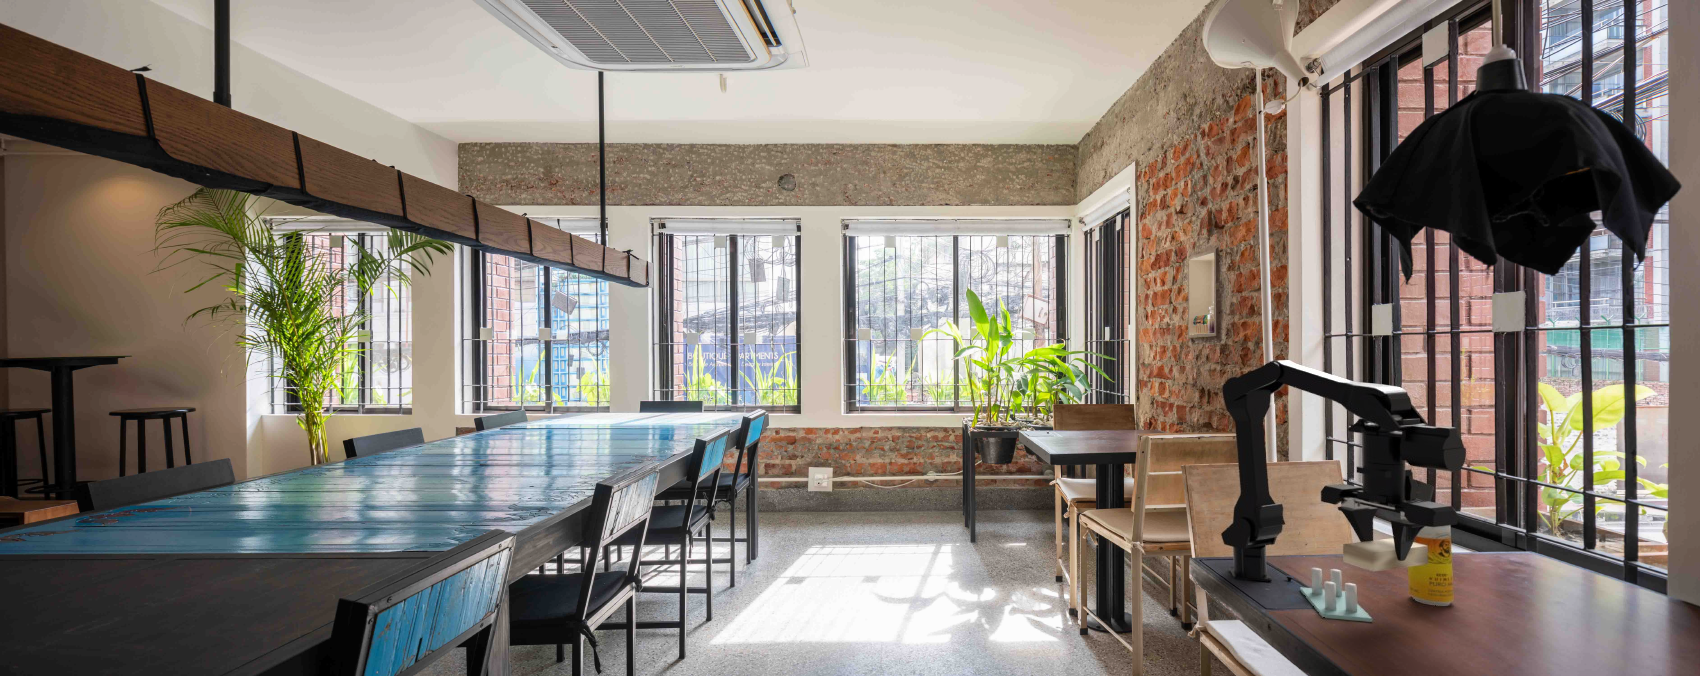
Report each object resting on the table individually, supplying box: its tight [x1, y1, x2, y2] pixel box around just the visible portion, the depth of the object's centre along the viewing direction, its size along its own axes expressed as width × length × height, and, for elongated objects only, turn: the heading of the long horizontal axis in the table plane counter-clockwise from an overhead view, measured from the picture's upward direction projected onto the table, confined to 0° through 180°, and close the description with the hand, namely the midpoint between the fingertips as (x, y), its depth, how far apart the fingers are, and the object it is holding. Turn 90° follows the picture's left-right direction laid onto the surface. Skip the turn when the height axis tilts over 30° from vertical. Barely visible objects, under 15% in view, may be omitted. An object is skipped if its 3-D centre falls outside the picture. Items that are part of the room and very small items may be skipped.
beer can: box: [1407, 525, 1454, 607], centre depth 124 cm, size 6×6×15 cm
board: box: [1342, 538, 1428, 572], centre depth 117 cm, size 12×5×3 cm, turn 106°
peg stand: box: [1299, 567, 1373, 623], centre depth 123 cm, size 14×7×5 cm, turn 160°
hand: (1384, 555), depth 117 cm, fingers closed on board, 5 cm apart
